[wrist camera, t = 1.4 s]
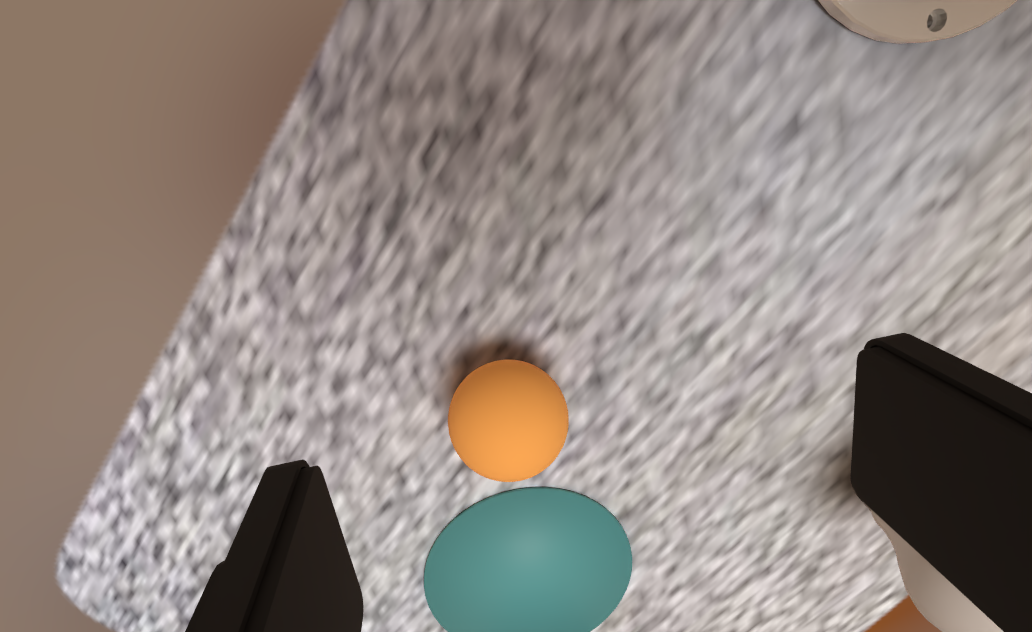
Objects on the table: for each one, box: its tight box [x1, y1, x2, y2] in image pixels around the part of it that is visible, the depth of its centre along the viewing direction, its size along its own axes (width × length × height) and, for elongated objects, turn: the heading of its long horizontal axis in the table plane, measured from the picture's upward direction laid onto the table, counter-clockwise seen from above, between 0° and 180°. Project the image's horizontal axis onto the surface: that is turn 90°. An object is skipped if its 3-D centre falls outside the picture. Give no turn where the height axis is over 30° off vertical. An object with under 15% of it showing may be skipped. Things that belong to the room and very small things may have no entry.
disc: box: [424, 487, 632, 632], centre depth 34 cm, size 12×12×1 cm
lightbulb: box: [853, 489, 1003, 632], centre depth 29 cm, size 6×6×11 cm
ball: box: [448, 360, 568, 482], centre depth 27 cm, size 6×6×6 cm
